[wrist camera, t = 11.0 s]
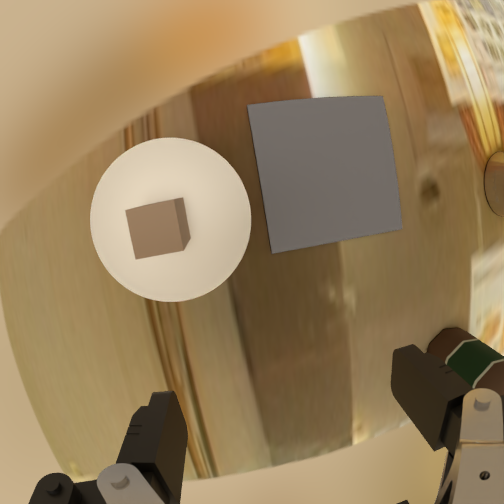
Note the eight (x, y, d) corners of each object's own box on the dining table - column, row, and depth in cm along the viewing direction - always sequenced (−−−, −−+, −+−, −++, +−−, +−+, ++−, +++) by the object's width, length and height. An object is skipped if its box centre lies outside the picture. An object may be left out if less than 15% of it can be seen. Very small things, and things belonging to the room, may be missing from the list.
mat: (381, 96, 30) (382, 96, 30) (400, 228, 34) (402, 229, 33) (246, 106, 30) (247, 105, 29) (271, 252, 33) (272, 253, 32)
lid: (235, 126, 24) (240, 108, 18) (261, 283, 27) (272, 309, 21) (83, 160, 23) (49, 154, 18) (114, 307, 26) (91, 337, 20)
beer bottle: (421, 339, 37) (544, 445, 14) (463, 316, 37) (587, 396, 14) (423, 382, 39) (522, 487, 15) (463, 358, 39) (566, 443, 16)
